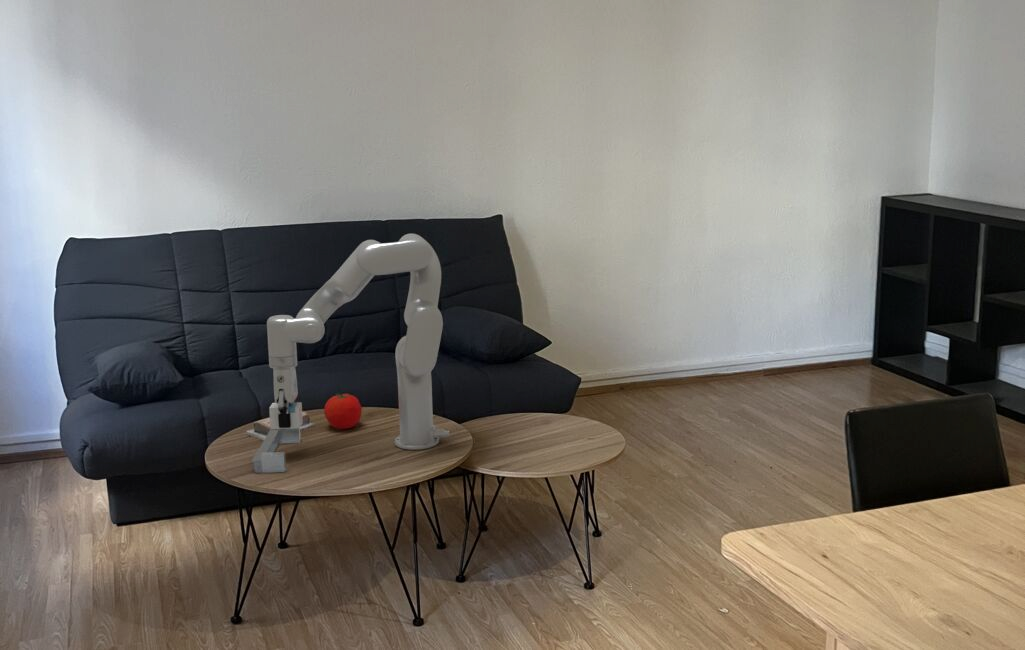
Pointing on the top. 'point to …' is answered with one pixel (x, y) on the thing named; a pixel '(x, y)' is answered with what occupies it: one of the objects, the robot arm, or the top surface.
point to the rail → (267, 457)
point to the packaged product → (263, 429)
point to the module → (295, 415)
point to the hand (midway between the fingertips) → (286, 423)
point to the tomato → (343, 411)
